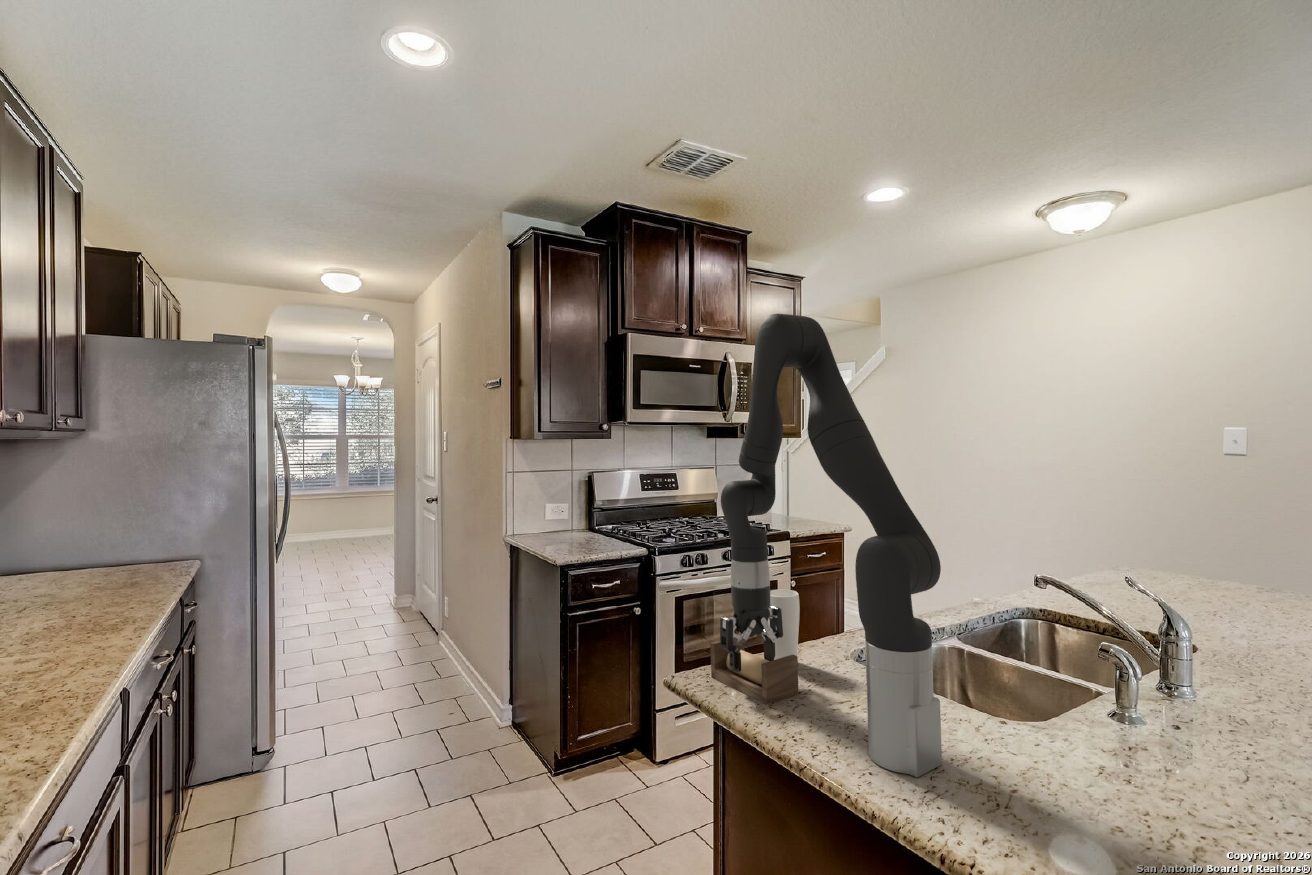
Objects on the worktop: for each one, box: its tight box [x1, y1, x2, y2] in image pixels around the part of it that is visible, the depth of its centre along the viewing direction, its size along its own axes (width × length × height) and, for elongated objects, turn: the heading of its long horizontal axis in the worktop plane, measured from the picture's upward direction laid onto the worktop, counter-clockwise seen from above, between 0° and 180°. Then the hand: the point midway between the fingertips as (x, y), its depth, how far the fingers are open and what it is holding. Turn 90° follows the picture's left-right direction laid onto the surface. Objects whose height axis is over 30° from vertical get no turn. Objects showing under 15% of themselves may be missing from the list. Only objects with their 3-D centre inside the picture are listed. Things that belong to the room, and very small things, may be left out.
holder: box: [709, 634, 800, 705], centre depth 119 cm, size 16×8×7 cm, turn 33°
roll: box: [726, 650, 769, 685], centre depth 119 cm, size 10×5×5 cm, turn 33°
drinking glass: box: [767, 588, 801, 660], centre depth 130 cm, size 7×7×15 cm
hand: (753, 665), depth 119 cm, fingers open, 8 cm apart
